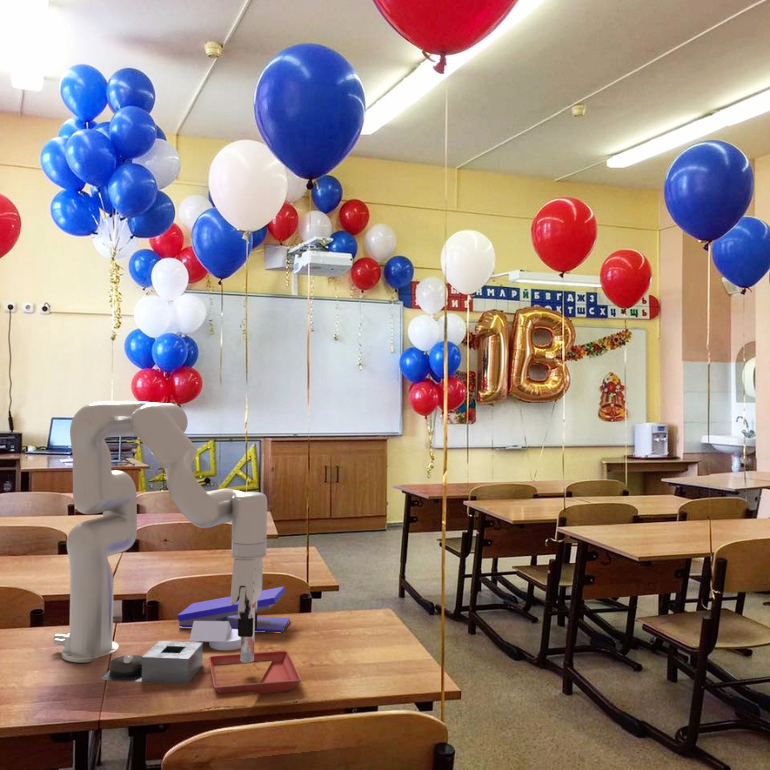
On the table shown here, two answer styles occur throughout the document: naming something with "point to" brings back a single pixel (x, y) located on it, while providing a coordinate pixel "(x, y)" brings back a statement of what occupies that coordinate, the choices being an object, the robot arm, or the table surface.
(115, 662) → the block
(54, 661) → the table surface
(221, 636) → the wedge on round base
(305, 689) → the table surface
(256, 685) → the plant saucer
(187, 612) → the stapler
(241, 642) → the pin
